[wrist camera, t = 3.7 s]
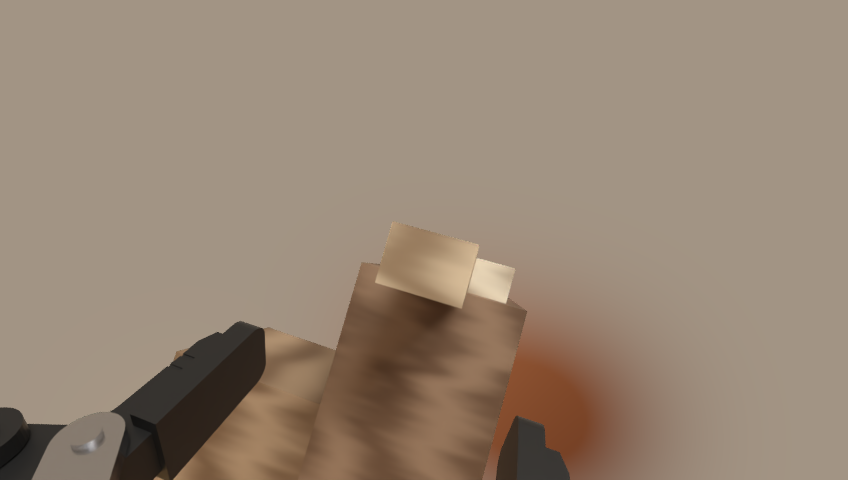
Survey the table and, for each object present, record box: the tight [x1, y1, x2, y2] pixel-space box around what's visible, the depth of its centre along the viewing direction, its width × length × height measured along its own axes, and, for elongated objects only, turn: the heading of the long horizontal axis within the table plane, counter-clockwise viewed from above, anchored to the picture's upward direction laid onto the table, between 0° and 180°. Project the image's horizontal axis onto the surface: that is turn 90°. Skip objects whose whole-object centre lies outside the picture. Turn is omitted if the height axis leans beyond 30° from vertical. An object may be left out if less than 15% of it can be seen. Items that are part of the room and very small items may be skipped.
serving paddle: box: [375, 221, 515, 309], centre depth 25 cm, size 9×22×2 cm, turn 172°
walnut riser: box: [153, 263, 527, 480], centre depth 30 cm, size 23×12×32 cm, turn 82°
